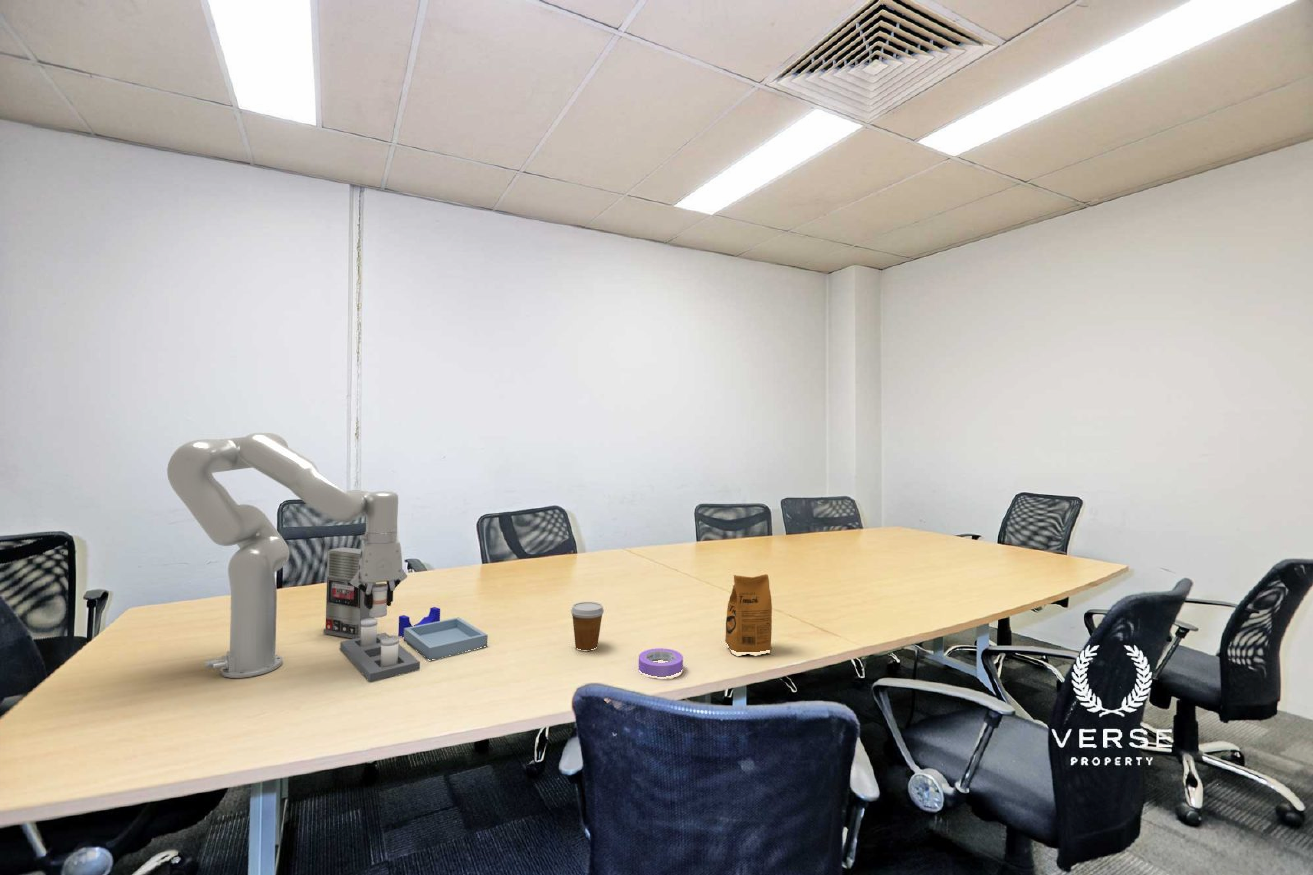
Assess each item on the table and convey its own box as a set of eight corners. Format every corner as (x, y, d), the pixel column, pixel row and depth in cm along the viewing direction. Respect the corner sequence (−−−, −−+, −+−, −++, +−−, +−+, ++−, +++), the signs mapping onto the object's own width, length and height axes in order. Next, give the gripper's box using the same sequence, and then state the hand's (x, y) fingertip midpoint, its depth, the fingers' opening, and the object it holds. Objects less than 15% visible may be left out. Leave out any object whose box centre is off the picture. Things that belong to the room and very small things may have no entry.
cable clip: (431, 624, 178) (431, 605, 178) (439, 627, 176) (440, 608, 176) (395, 635, 168) (396, 615, 168) (404, 638, 166) (404, 618, 166)
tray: (429, 661, 149) (429, 648, 149) (403, 640, 164) (403, 628, 164) (487, 647, 160) (487, 634, 160) (458, 628, 175) (458, 617, 175)
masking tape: (644, 682, 140) (644, 667, 140) (633, 664, 151) (634, 649, 151) (688, 678, 143) (689, 663, 143) (675, 660, 155) (675, 646, 155)
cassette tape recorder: (322, 634, 167) (324, 550, 167) (340, 628, 173) (342, 547, 173) (358, 640, 163) (360, 554, 163) (375, 634, 168) (377, 551, 168)
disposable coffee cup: (563, 649, 160) (564, 607, 160) (582, 639, 168) (583, 599, 168) (590, 656, 155) (591, 613, 155) (609, 645, 164) (610, 604, 164)
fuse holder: (369, 682, 136) (370, 674, 136) (340, 648, 156) (340, 641, 156) (419, 669, 144) (419, 661, 144) (385, 639, 164) (385, 632, 164)
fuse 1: (362, 653, 154) (363, 623, 154) (357, 648, 157) (358, 620, 157) (378, 649, 156) (379, 620, 156) (374, 645, 160) (374, 617, 160)
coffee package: (722, 645, 166) (723, 571, 166) (761, 643, 169) (763, 570, 169) (732, 658, 157) (734, 579, 157) (774, 656, 159) (776, 578, 159)
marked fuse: (372, 618, 147) (373, 588, 147) (367, 614, 150) (368, 584, 150) (388, 615, 150) (390, 585, 150) (383, 611, 153) (385, 582, 153)
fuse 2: (382, 674, 140) (383, 642, 140) (377, 669, 143) (378, 637, 143) (400, 670, 143) (401, 638, 143) (395, 665, 146) (395, 634, 146)
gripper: (350, 543, 142) (347, 615, 141) (418, 537, 153) (415, 604, 153) (342, 538, 147) (339, 608, 147) (408, 533, 158) (406, 598, 158)
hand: (378, 605), depth 150 cm, fingers closed on marked fuse, 4 cm apart
